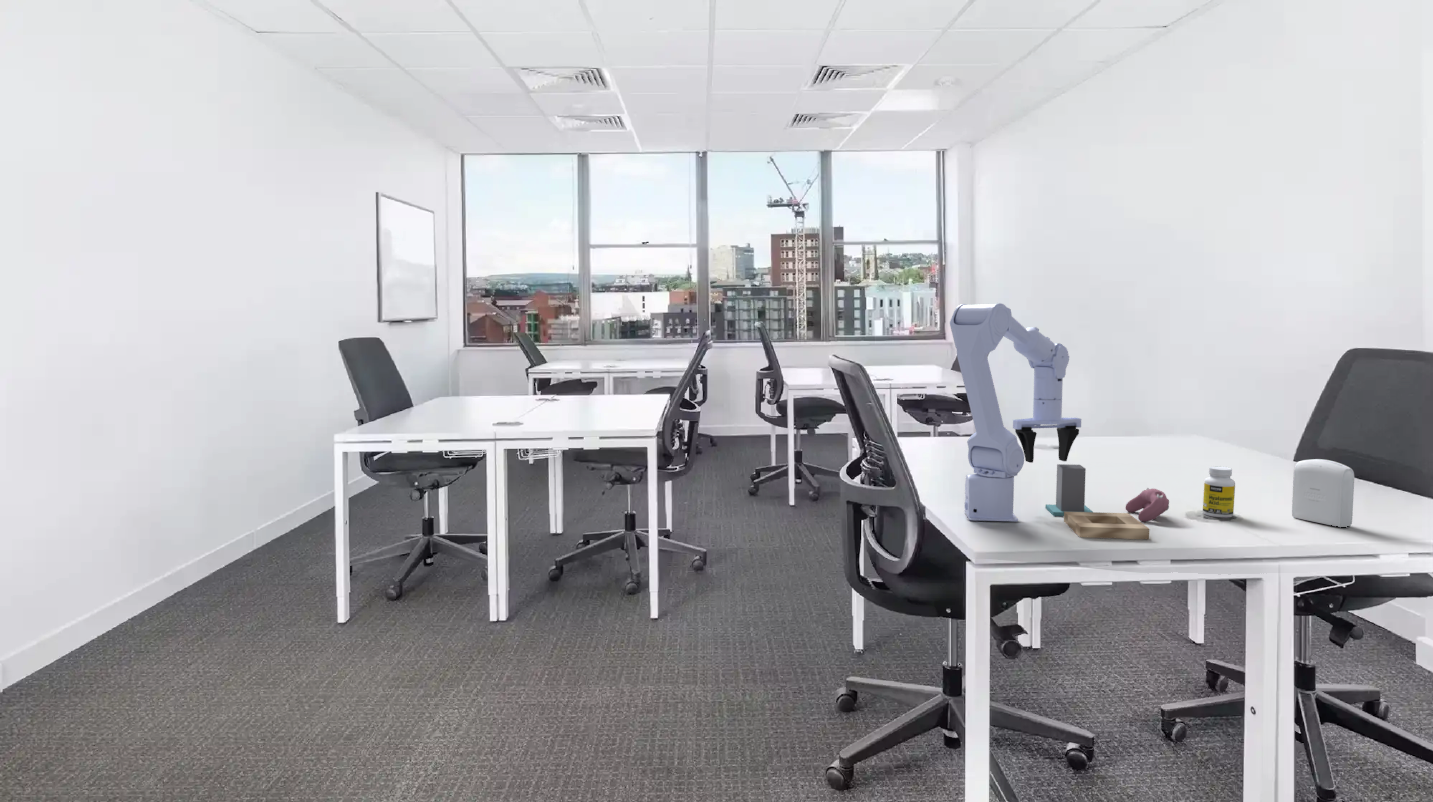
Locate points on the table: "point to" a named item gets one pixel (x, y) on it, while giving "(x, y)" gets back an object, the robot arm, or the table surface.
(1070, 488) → the plug
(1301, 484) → the photo printer
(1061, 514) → the rubber mat
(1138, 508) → the video game controller
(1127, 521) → the square wooden frame
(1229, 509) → the supplement bottle
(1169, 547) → the table surface
